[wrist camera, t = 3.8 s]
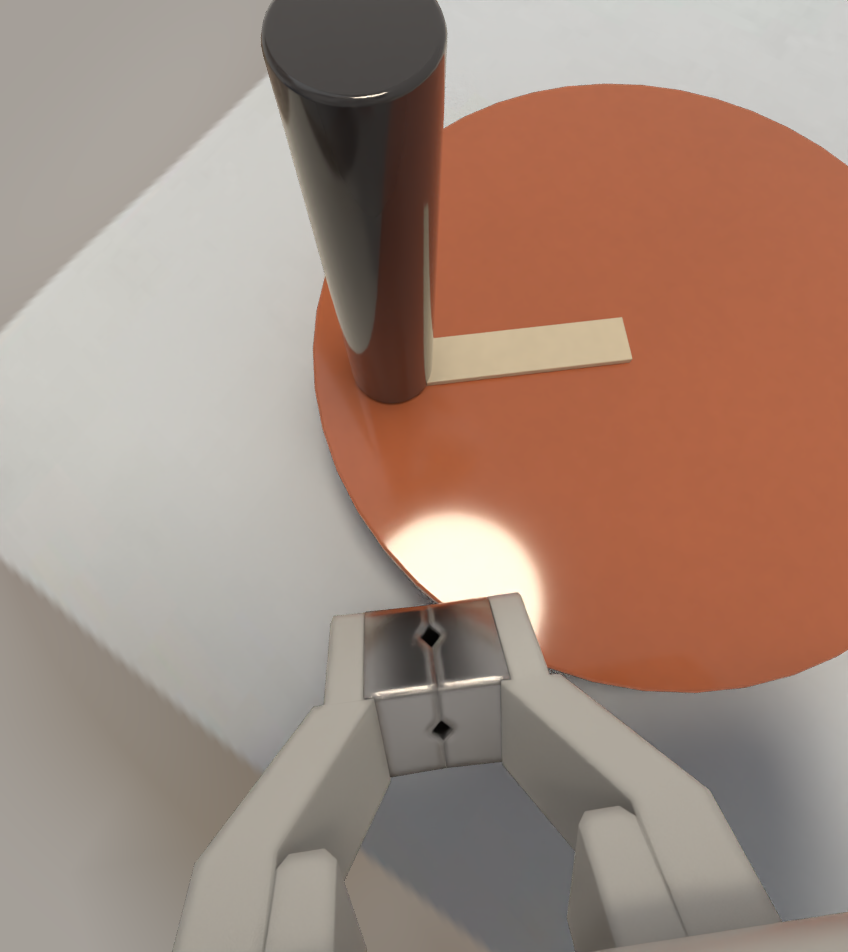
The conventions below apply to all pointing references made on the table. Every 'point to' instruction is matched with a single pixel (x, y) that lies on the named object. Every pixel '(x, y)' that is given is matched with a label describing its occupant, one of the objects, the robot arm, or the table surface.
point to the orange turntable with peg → (579, 350)
